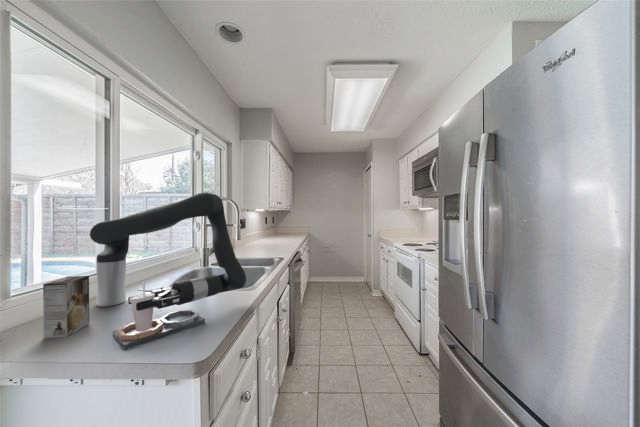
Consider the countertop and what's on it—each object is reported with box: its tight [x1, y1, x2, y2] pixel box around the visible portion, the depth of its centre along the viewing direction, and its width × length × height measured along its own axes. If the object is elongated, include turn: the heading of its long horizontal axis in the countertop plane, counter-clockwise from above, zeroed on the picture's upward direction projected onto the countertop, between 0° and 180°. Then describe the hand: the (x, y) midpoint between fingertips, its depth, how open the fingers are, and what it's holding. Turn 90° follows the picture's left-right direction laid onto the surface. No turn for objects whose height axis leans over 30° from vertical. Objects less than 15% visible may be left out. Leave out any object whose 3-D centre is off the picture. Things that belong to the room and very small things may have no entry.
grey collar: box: [160, 309, 200, 326], centre depth 85 cm, size 10×10×1 cm
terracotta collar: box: [117, 318, 163, 340], centre depth 77 cm, size 10×10×1 cm
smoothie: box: [129, 280, 155, 332], centre depth 77 cm, size 6×6×14 cm
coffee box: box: [42, 275, 90, 339], centre depth 80 cm, size 9×6×16 cm
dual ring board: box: [112, 314, 206, 351], centre depth 81 cm, size 12×22×2 cm, turn 140°
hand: (132, 303), depth 75 cm, fingers open, 7 cm apart
